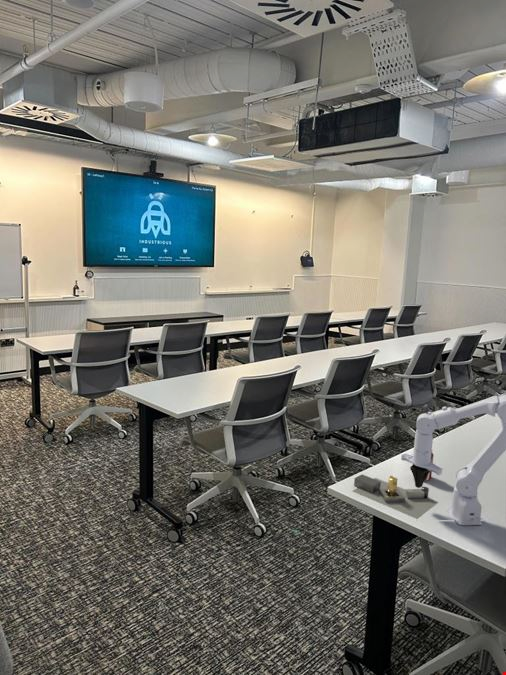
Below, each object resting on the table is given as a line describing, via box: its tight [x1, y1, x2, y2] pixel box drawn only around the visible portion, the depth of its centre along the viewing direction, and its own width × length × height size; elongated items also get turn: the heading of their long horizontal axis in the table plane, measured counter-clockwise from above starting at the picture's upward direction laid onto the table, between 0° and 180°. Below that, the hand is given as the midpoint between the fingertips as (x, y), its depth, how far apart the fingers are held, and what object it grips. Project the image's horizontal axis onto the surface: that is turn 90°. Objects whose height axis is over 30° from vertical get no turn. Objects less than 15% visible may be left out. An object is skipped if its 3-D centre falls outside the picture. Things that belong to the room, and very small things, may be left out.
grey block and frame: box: [353, 473, 405, 503], centre depth 177 cm, size 16×15×3 cm
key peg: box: [387, 475, 399, 496], centre depth 173 cm, size 5×3×7 cm, turn 1°
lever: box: [405, 486, 430, 499], centre depth 174 cm, size 2×8×3 cm, turn 95°
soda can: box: [424, 451, 435, 482], centre depth 190 cm, size 7×7×12 cm
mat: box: [352, 477, 439, 520], centre depth 174 cm, size 25×16×1 cm, turn 45°
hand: (418, 486), depth 167 cm, fingers closed
